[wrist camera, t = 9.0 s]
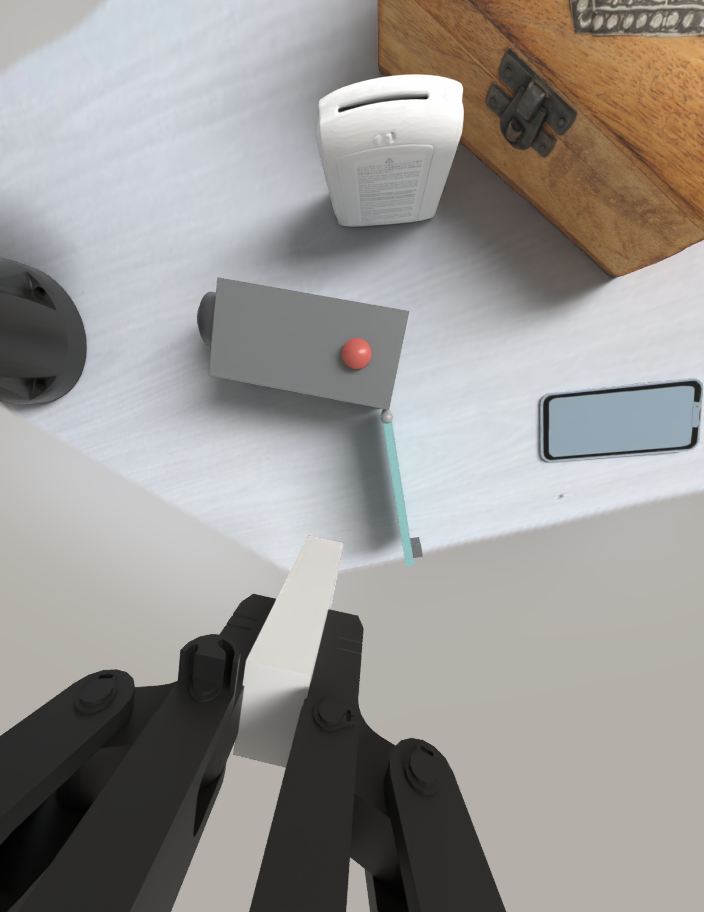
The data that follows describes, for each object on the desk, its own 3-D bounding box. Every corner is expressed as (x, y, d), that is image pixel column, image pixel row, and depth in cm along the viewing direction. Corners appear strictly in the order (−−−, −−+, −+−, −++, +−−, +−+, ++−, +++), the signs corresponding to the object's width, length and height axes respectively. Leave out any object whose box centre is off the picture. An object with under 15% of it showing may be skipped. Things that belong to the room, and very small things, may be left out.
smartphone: (540, 393, 35) (704, 376, 33) (536, 393, 36) (695, 376, 34) (541, 463, 36) (698, 450, 34) (537, 461, 37) (690, 449, 35)
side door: (418, 539, 38) (425, 566, 32) (401, 541, 38) (405, 569, 33) (398, 406, 35) (401, 409, 30) (380, 409, 36) (380, 413, 30)
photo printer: (440, 172, 32) (476, 40, 20) (440, 222, 33) (474, 126, 21) (332, 183, 33) (303, 65, 21) (335, 232, 34) (308, 145, 22)
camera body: (222, 373, 37) (174, 369, 29) (229, 297, 36) (181, 268, 27) (387, 405, 37) (389, 410, 28) (402, 328, 35) (409, 308, 26)
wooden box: (366, 79, 31) (355, -159, 18) (497, -116, 28) (608, -599, 14) (600, 298, 33) (752, 235, 19) (749, 140, 30) (1061, -69, 16)
